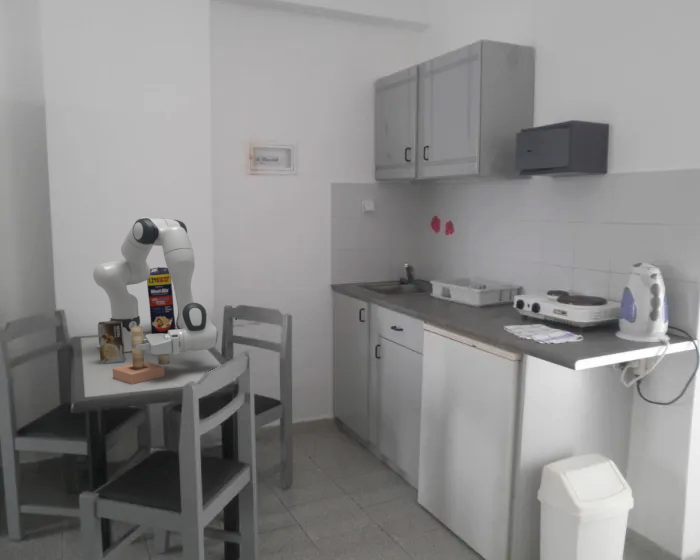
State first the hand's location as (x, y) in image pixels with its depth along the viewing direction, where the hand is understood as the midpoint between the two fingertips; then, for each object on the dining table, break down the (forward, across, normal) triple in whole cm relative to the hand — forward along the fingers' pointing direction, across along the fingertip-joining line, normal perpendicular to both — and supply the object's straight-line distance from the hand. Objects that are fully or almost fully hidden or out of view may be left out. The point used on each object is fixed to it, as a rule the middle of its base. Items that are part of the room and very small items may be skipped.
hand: (134, 345), depth 219 cm
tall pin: (-1, 0, +8) cm, 8 cm away
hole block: (-1, 0, +12) cm, 12 cm away
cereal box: (-20, -74, +12) cm, 78 cm away
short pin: (-12, -16, +12) cm, 23 cm away
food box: (+6, -29, +12) cm, 32 cm away
